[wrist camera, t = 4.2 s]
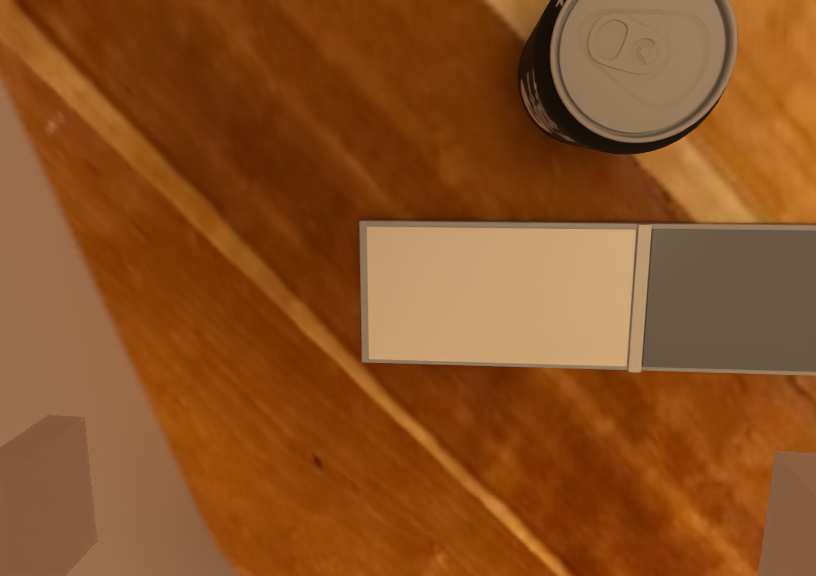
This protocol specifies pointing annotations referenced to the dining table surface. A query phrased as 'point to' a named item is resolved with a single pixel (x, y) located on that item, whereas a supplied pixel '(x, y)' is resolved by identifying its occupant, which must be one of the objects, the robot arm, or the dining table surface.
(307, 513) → the dining table surface
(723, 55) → the beverage can
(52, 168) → the dining table surface
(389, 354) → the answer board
